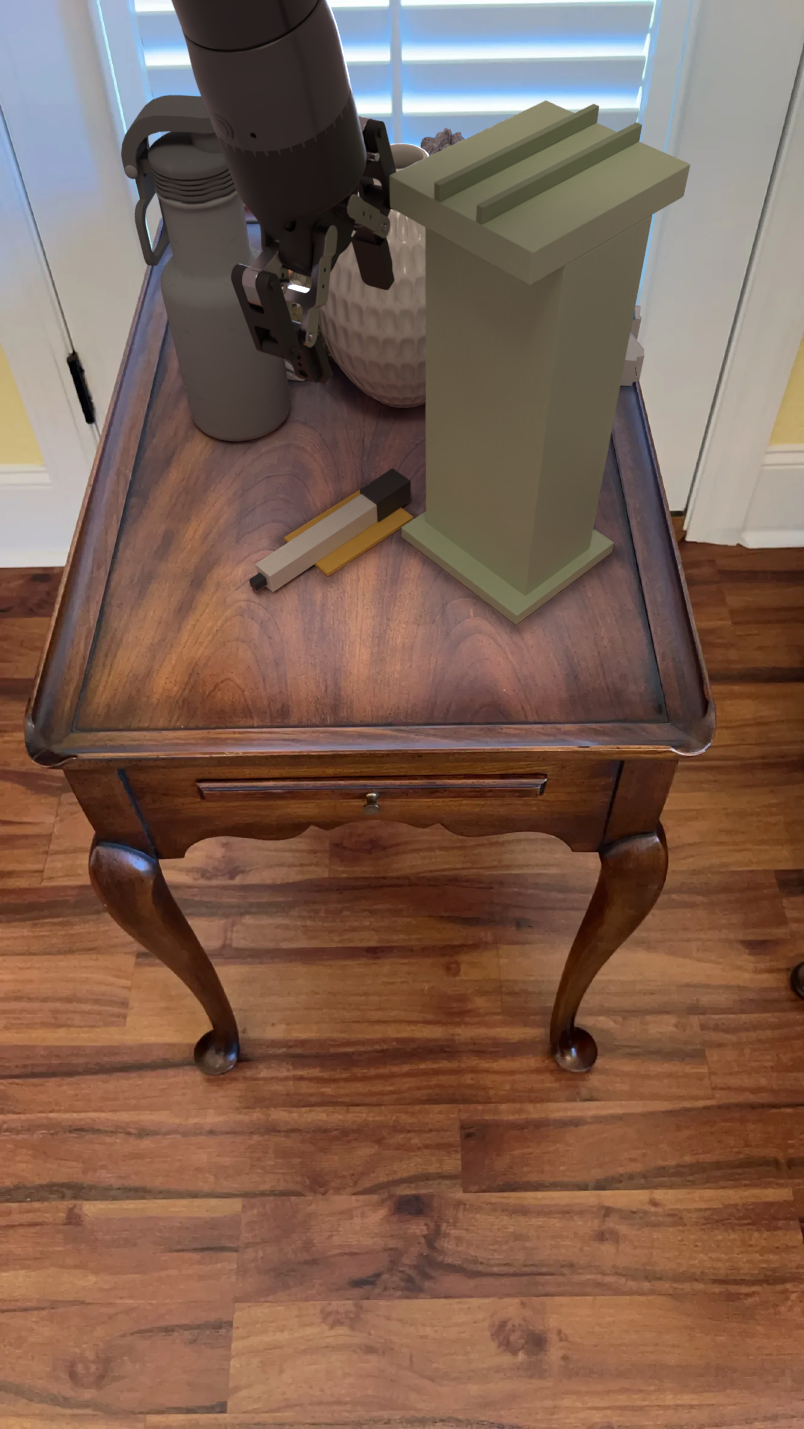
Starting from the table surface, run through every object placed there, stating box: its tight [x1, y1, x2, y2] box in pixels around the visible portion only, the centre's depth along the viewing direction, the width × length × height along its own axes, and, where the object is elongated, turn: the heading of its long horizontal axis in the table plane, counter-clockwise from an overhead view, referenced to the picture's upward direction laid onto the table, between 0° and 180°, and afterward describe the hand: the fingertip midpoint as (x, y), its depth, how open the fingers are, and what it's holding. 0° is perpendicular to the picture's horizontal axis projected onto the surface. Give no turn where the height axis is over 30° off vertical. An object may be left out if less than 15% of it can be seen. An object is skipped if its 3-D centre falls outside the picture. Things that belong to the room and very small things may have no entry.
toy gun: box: [620, 304, 645, 387], centre depth 101 cm, size 3×14×10 cm
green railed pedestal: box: [389, 100, 691, 625], centre depth 73 cm, size 14×14×33 cm
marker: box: [248, 467, 412, 593], centre depth 85 cm, size 17×2×2 cm, turn 134°
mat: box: [283, 489, 414, 577], centre depth 88 cm, size 10×6×1 cm, turn 132°
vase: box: [318, 142, 429, 409], centre depth 90 cm, size 16×16×22 cm
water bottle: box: [120, 94, 291, 442], centre depth 86 cm, size 10×10×28 cm
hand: (348, 329), depth 65 cm, fingers open, 8 cm apart
